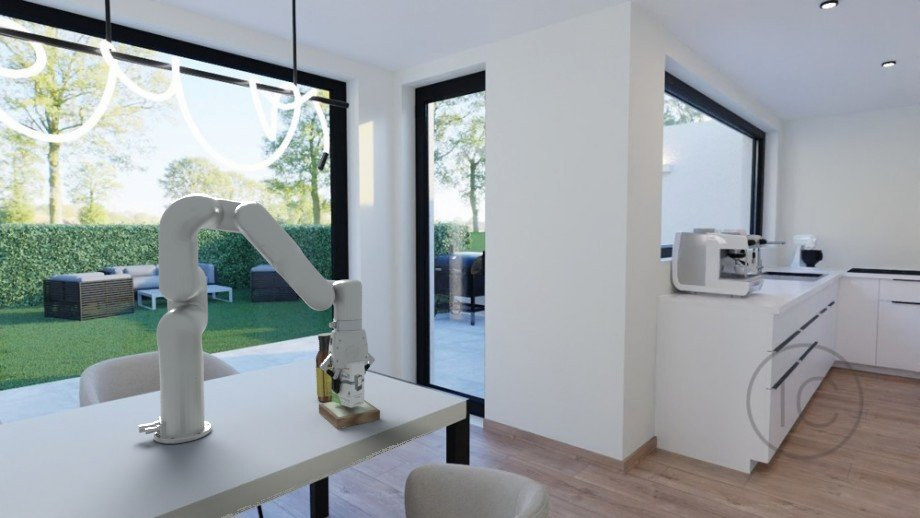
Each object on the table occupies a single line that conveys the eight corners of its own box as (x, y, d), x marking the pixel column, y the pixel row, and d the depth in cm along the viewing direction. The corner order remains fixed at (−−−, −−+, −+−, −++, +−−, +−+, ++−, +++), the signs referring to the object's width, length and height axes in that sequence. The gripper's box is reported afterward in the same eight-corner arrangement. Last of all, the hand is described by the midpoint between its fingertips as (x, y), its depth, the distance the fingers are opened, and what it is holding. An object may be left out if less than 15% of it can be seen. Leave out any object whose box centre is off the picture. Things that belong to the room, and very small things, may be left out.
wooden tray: (337, 428, 129) (337, 418, 129) (318, 412, 141) (318, 403, 141) (379, 419, 136) (379, 409, 136) (359, 404, 148) (359, 395, 148)
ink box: (330, 401, 139) (330, 359, 138) (345, 397, 143) (345, 356, 142) (351, 408, 134) (351, 364, 133) (365, 403, 138) (365, 361, 137)
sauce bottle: (341, 396, 155) (340, 332, 154) (334, 403, 149) (333, 336, 148) (320, 395, 156) (320, 331, 155) (312, 402, 150) (312, 335, 149)
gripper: (321, 330, 129) (321, 399, 130) (382, 324, 139) (382, 388, 140) (312, 325, 136) (312, 391, 136) (371, 320, 145) (371, 381, 146)
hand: (348, 389), depth 138 cm, fingers closed on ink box, 6 cm apart
